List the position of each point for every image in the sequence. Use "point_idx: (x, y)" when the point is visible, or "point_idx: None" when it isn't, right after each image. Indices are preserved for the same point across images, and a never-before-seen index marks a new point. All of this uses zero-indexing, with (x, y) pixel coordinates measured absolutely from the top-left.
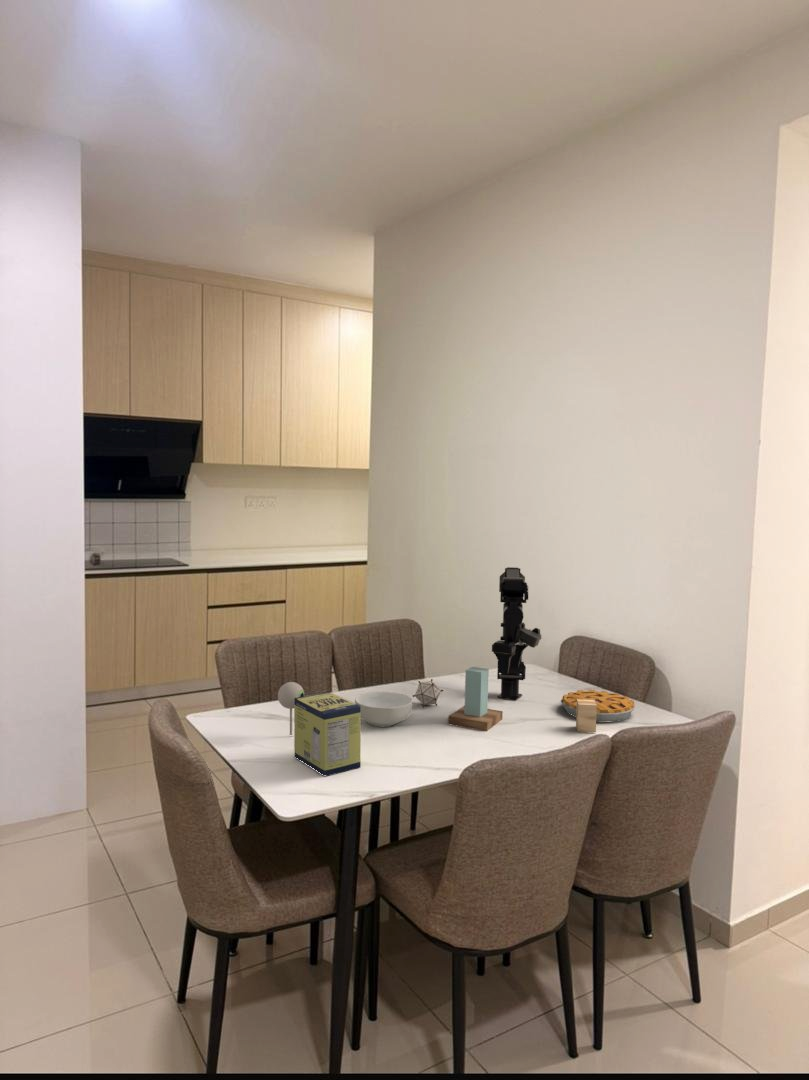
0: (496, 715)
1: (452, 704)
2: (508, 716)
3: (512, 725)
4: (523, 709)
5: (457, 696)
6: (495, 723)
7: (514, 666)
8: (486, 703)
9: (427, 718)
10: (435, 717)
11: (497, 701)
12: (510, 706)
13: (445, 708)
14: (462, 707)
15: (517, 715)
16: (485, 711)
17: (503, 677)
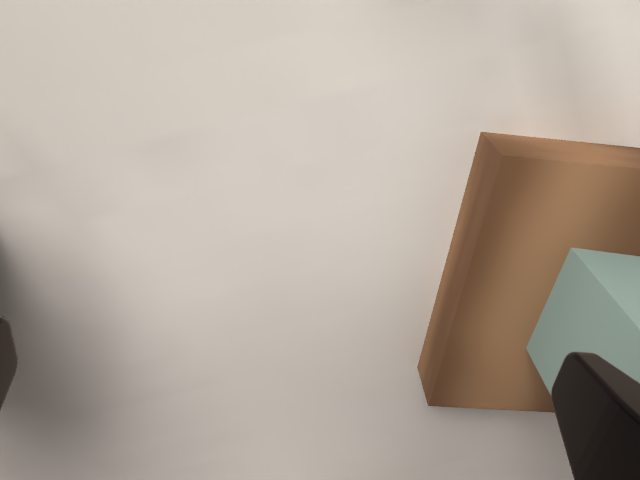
0: (629, 170)
1: (282, 456)
2: (391, 107)
3: (618, 17)
4: (144, 35)
5: (118, 476)
6: (624, 149)
7: (10, 380)
8: (631, 295)
9: (567, 475)
10: (542, 455)
11: (62, 271)
12: (125, 158)
13: (370, 461)
14: (484, 404)
15: (337, 43)
16: (613, 261)
17: None
